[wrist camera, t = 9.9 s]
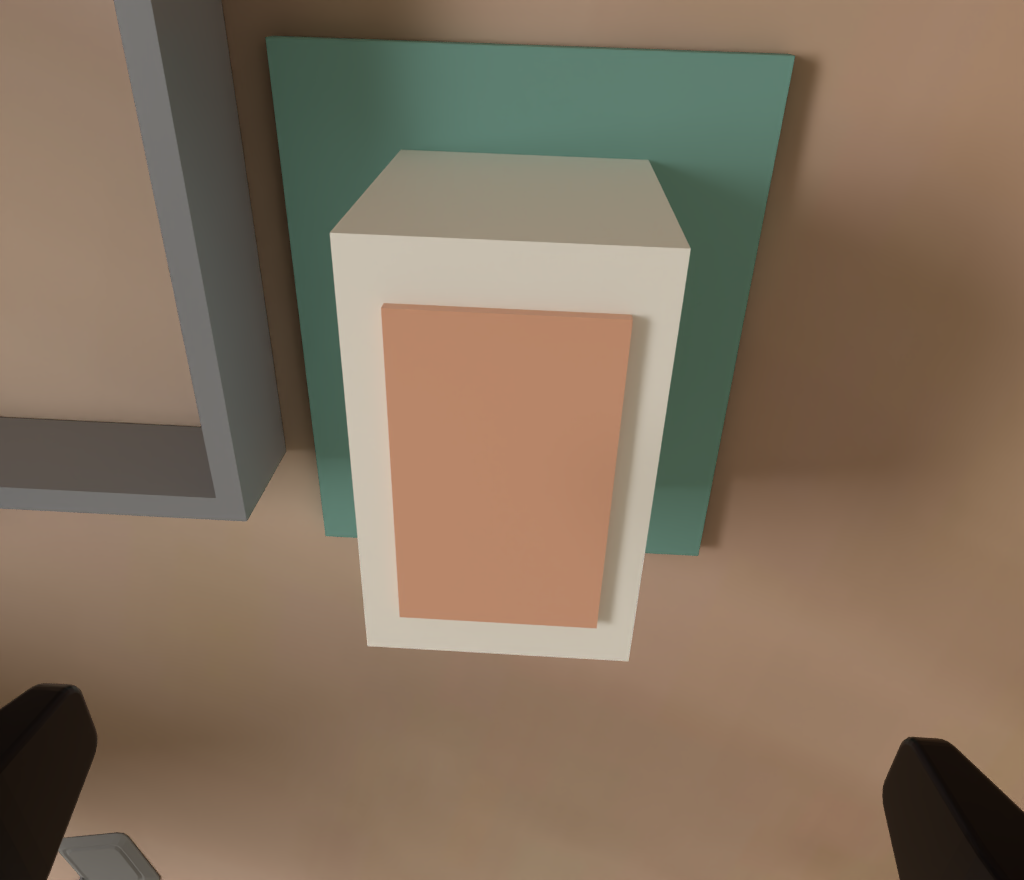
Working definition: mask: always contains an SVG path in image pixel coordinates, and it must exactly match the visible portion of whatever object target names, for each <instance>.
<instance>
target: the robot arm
mask: <svg viewBox="0 0 1024 880" xmlns="http://www.w3.org/2000/svg"><path fill="white" fill-rule="evenodd" d="M96 747H97V732H96V729H95V726H94V723H93V721H92V718H91V715H90V713H89V710H88V707H87V705H86V702H85V699H84V697H83V694H82V692H81V690H80V689H79V688H77V687H76V686H74V685H67V684H51V683H43V684H38V685H36V686H34V687H32V688H30V689H28V690H27V691H25V692H24V693H23V694H21V695H20V696H18V697H17V698H15V699H14V700H12V701H11V702H10V703H8V704H7V705H5V706H4V707H2V708H1V709H0V880H47V878H48V876H49V874H50V871H51V868H52V866H53V863H54V861H55V858H56V855H57V853H58V850H59V848H60V845H61V842H62V840H63V837H64V834H65V832H66V829H67V827H68V824H69V821H70V819H71V816H72V813H73V811H74V808H75V806H76V803H77V800H78V798H79V795H80V792H81V790H82V787H83V785H84V782H85V779H86V777H87V774H88V771H89V769H90V766H91V764H92V761H93V758H94V755H95V752H96ZM882 797H883V806H884V811H885V816H886V820H887V825H888V829H889V834H890V838H891V843H892V847H893V852H894V856H895V860H896V865H897V869H898V874H899V878H900V880H1024V812H1023V811H1022V810H1021V809H1020V808H1019V807H1018V806H1017V805H1016V804H1015V803H1014V802H1013V801H1012V800H1011V799H1010V798H1009V797H1008V796H1006V795H1005V794H1004V793H1003V792H1002V791H1001V790H1000V789H999V788H998V787H997V786H996V785H995V784H994V783H993V782H992V781H991V780H990V779H989V778H987V777H986V776H985V775H984V774H983V773H982V772H981V771H980V770H979V769H978V768H977V767H976V766H975V765H974V764H973V763H972V762H971V761H970V760H969V759H967V758H966V757H965V756H964V755H963V754H962V753H961V752H960V751H959V750H958V749H957V748H956V747H955V746H953V745H952V744H951V743H949V742H948V741H945V740H943V739H938V738H922V737H908V738H907V739H905V740H904V741H903V742H902V743H901V745H900V747H899V749H898V752H897V754H896V756H895V759H894V761H893V763H892V765H891V768H890V770H889V772H888V774H887V777H886V779H885V782H884V785H883V794H882Z"/></svg>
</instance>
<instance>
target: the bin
mask: <svg viewBox="0 0 1024 880" xmlns="http://www.w3.org/2000/svg"><path fill="white" fill-rule="evenodd" d="M114 5H115V9H116V14H117V19H118V24H119V29H120V34H121V39H122V43H123V48H124V53H125V58H126V63H127V68H128V73H129V77H130V82H131V87H132V92H133V97H134V102H135V107H136V111H137V116H138V121H139V126H140V131H141V136H142V141H143V145H144V150H145V155H146V160H147V165H148V170H149V175H150V179H151V184H152V189H153V194H154V199H155V204H156V209H157V213H158V218H159V223H160V228H161V233H162V238H163V243H164V247H165V252H166V257H167V262H168V267H169V272H170V277H171V281H172V286H173V291H174V296H175V301H176V306H177V311H178V315H179V320H180V325H181V330H182V335H183V340H184V345H185V349H186V354H187V359H188V364H189V369H190V374H191V379H192V383H193V388H194V393H195V398H196V403H197V408H198V413H199V417H200V422H201V427H188V426H168V425H147V424H127V423H107V422H87V421H66V420H46V419H26V418H6V417H0V508H2V509H21V510H40V511H59V512H78V513H97V514H116V515H135V516H154V517H173V518H192V519H211V520H230V521H247V520H248V518H249V517H250V515H251V513H252V511H253V510H254V508H255V506H256V504H257V502H258V501H259V499H260V497H261V495H262V493H263V492H264V490H265V488H266V486H267V485H268V483H269V481H270V479H271V477H272V476H273V474H274V472H275V470H276V468H277V467H278V465H279V463H280V461H281V460H282V458H283V456H284V454H285V452H286V446H285V439H284V432H283V426H282V419H281V412H280V405H279V398H278V391H277V384H276V377H275V370H274V363H273V356H272V349H271V342H270V335H269V328H268V321H267V314H266V307H265V300H264V293H263V286H262V279H261V272H260V265H259V258H258V251H257V244H256V238H255V231H254V224H253V217H252V210H251V203H250V196H249V189H248V182H247V175H246V168H245V161H244V154H243V147H242V140H241V133H240V126H239V119H238V112H237V105H236V98H235V91H234V84H233V77H232V70H231V63H230V57H229V50H228V43H227V36H226V29H225V22H224V15H223V8H222V1H221V0H114Z"/></svg>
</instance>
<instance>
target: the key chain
mask: <svg viewBox="0 0 1024 880" xmlns="http://www.w3.org/2000/svg"><path fill="white" fill-rule="evenodd" d="M58 851H59V853H60V854H61V855H62V856H63V857H64V858H65V859H66V861H67V862H68V863H69V864H70V865H71V866H72V868H73V869H74V870H75V871H76V872H77V873H78V874H79V876H80V879H79V880H160V876H159V875H158V873H157V872H156V871H155V870H154V868H153V867H152V866H151V865H150V863H149V862H148V861H147V859H146V858H145V857H144V856H143V854H142V853H141V852H140V851H139V849H138V848H137V847H136V846H135V844H134V843H133V842H132V841H131V839H130V838H129V837H128V836H127V835H125V834H124V833H108V834H98V835H88V836H77V837H67V838H63V840H62V842H61V845H60V848H59V850H58Z"/></svg>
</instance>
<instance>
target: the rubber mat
mask: <svg viewBox="0 0 1024 880" xmlns="http://www.w3.org/2000/svg"><path fill="white" fill-rule="evenodd" d="M265 38H266V46H267V55H268V63H269V71H270V79H271V88H272V96H273V104H274V113H275V121H276V129H277V137H278V146H279V154H280V162H281V171H282V179H283V187H284V195H285V204H286V212H287V220H288V228H289V237H290V245H291V253H292V262H293V270H294V278H295V286H296V295H297V303H298V311H299V320H300V328H301V336H302V344H303V353H304V361H305V369H306V377H307V386H308V394H309V402H310V411H311V419H312V427H313V435H314V444H315V452H316V460H317V469H318V477H319V485H320V493H321V502H322V510H323V518H324V526H325V535H326V536H334V537H353V538H358V537H357V526H356V515H355V504H354V493H353V483H352V472H351V461H350V450H349V439H348V428H347V417H346V406H345V395H344V384H343V373H342V362H341V352H340V341H339V330H338V319H337V308H336V297H335V286H334V275H333V264H332V253H331V242H330V232H331V231H332V229H333V228H334V227H335V226H336V225H337V224H338V222H339V221H340V220H341V219H342V218H343V217H344V215H345V214H346V213H347V212H348V211H349V210H350V208H351V207H352V206H353V205H354V204H355V203H356V201H357V200H358V199H359V198H360V197H361V196H362V194H363V193H364V192H365V191H366V190H367V189H368V187H369V186H370V185H371V184H372V183H373V182H374V180H375V179H376V178H377V177H378V176H379V175H380V173H381V172H382V171H383V170H384V169H385V168H386V166H387V165H388V164H389V163H390V162H391V161H392V159H393V158H394V157H395V156H396V155H397V154H398V152H399V151H400V150H421V151H445V152H469V153H493V154H518V155H542V156H566V157H590V158H614V159H639V160H649V162H650V164H651V166H652V168H653V170H654V172H655V175H656V177H657V179H658V181H659V183H660V185H661V187H662V189H663V191H664V193H665V196H666V198H667V200H668V202H669V204H670V206H671V208H672V210H673V212H674V214H675V217H676V219H677V221H678V223H679V225H680V227H681V229H682V231H683V233H684V235H685V238H686V240H687V242H688V244H689V246H690V248H691V251H690V257H689V264H688V270H687V277H686V284H685V290H684V297H683V304H682V310H681V317H680V323H679V330H678V337H677V343H676V350H675V357H674V363H673V370H672V376H671V383H670V390H669V396H668V403H667V410H666V416H665V423H664V429H663V436H662V443H661V449H660V456H659V463H658V469H657V476H656V482H655V489H654V496H653V502H652V509H651V516H650V522H649V529H648V535H647V542H646V549H645V553H654V554H673V555H692V556H698V554H699V549H700V543H701V538H702V533H703V528H704V523H705V518H706V513H707V507H708V502H709V497H710V492H711V487H712V482H713V476H714V471H715V466H716V461H717V456H718V451H719V445H720V440H721V435H722V430H723V425H724V420H725V415H726V409H727V404H728V399H729V394H730V389H731V384H732V378H733V373H734V368H735V363H736V358H737V353H738V348H739V342H740V337H741V332H742V327H743V322H744V317H745V311H746V306H747V301H748V296H749V291H750V286H751V280H752V275H753V270H754V265H755V260H756V255H757V250H758V244H759V239H760V234H761V229H762V224H763V219H764V213H765V208H766V203H767V198H768V193H769V188H770V183H771V177H772V172H773V167H774V162H775V157H776V152H777V146H778V141H779V136H780V131H781V126H782V121H783V115H784V110H785V105H786V100H787V95H788V90H789V85H790V79H791V74H792V69H793V64H794V59H795V56H794V55H791V54H776V53H748V52H720V51H691V50H663V49H634V48H606V47H578V46H549V45H521V44H492V43H464V42H436V41H407V40H379V39H351V38H322V37H294V36H269V37H265Z"/></svg>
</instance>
